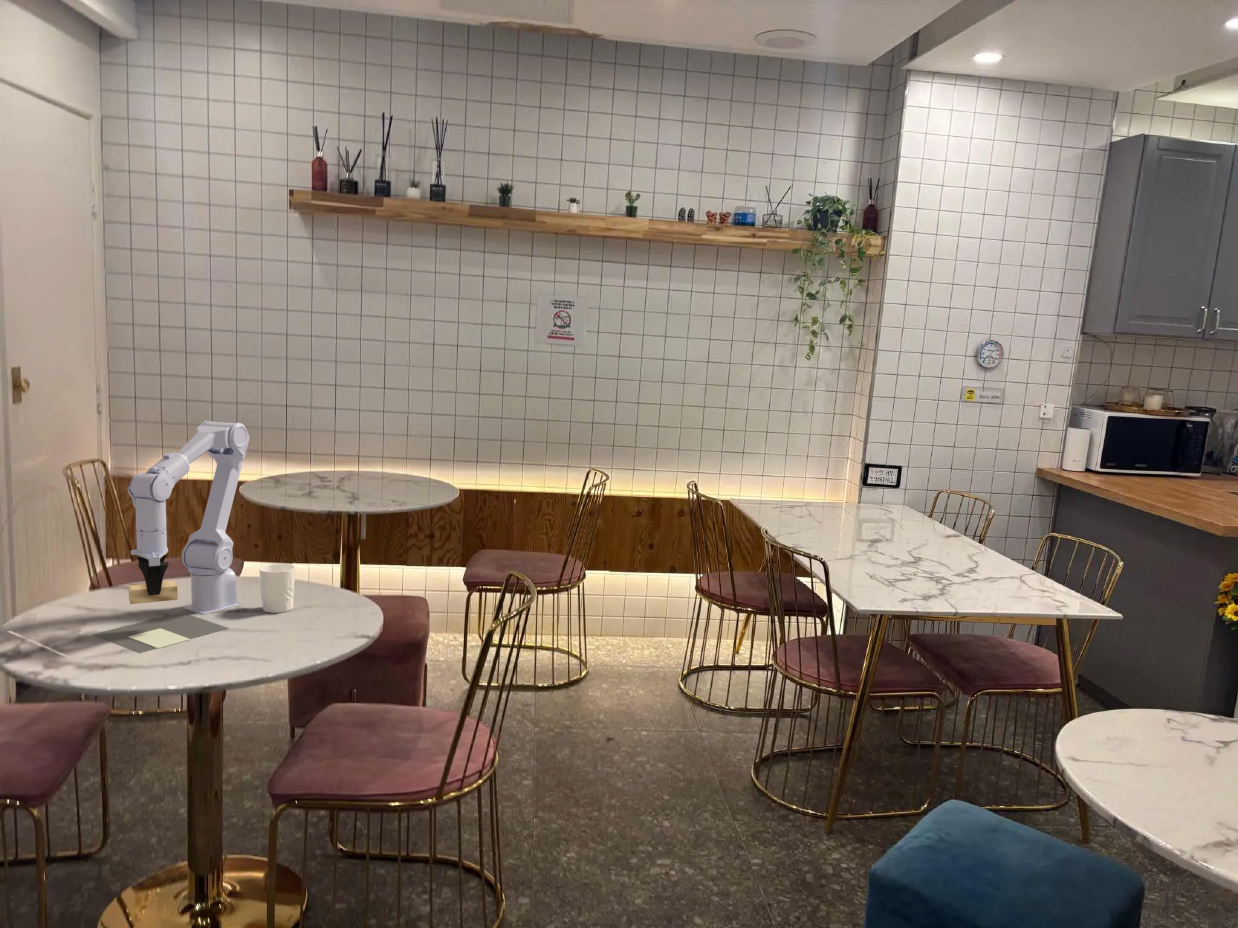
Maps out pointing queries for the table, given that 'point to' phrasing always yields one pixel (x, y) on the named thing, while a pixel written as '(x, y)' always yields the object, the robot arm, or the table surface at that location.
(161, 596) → the oak block
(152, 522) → the robot arm
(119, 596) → the table surface
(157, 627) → the rubber mat
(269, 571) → the white cup
